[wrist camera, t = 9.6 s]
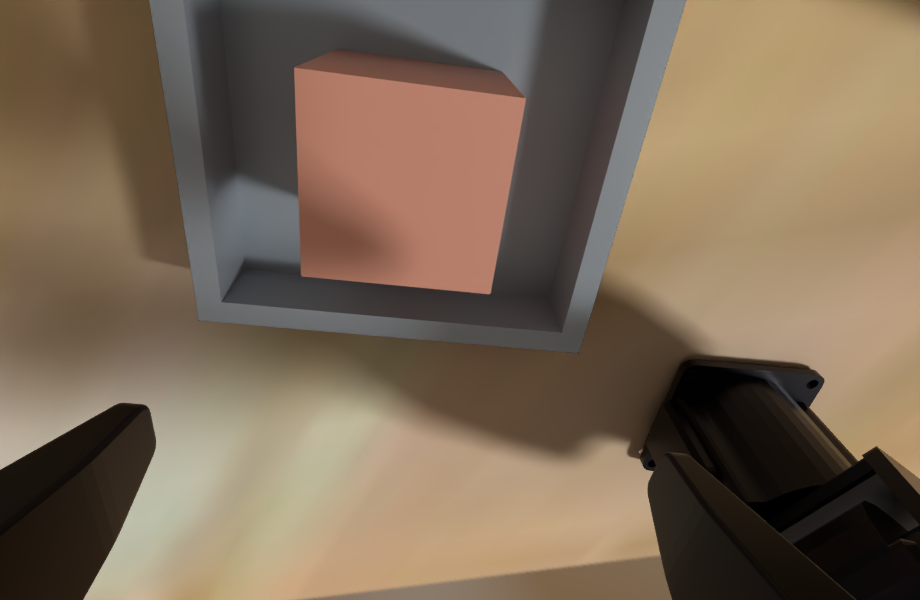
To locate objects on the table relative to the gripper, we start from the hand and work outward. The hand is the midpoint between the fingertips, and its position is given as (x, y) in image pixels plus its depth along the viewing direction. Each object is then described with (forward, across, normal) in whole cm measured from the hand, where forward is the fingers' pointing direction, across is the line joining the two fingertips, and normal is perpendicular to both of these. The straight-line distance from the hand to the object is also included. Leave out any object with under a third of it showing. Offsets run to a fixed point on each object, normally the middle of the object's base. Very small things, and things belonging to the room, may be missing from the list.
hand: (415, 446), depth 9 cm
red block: (+10, +1, -3) cm, 11 cm away
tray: (+11, +1, -3) cm, 11 cm away
